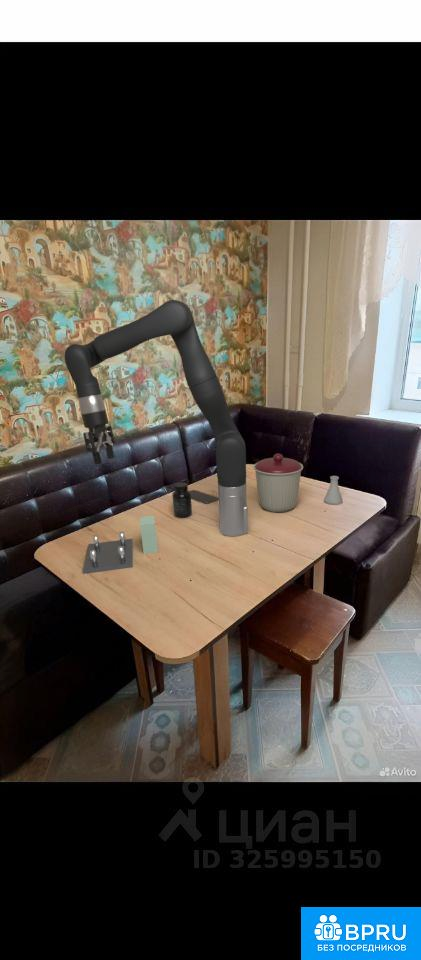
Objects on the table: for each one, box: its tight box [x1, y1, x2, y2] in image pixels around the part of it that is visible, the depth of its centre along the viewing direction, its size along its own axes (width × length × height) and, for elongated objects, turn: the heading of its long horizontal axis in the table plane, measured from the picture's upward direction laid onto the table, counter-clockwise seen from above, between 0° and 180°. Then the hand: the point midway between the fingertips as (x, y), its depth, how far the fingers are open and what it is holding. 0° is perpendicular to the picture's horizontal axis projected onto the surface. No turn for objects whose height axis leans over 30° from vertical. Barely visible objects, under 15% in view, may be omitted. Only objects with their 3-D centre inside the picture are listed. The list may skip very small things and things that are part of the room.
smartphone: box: [189, 489, 219, 505], centre depth 168 cm, size 7×1×16 cm
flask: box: [323, 475, 343, 505], centre depth 156 cm, size 7×7×10 cm
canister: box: [252, 453, 304, 513], centre depth 151 cm, size 18×18×21 cm
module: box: [139, 514, 159, 555], centre depth 127 cm, size 4×6×10 cm
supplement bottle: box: [171, 482, 193, 519], centre depth 150 cm, size 7×7×12 cm
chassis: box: [82, 531, 134, 575], centre depth 124 cm, size 14×16×5 cm
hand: (105, 461), depth 130 cm, fingers open, 8 cm apart
